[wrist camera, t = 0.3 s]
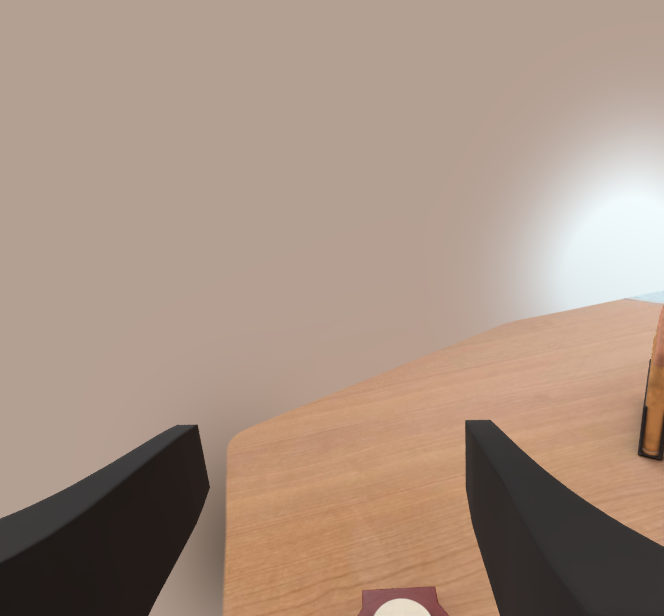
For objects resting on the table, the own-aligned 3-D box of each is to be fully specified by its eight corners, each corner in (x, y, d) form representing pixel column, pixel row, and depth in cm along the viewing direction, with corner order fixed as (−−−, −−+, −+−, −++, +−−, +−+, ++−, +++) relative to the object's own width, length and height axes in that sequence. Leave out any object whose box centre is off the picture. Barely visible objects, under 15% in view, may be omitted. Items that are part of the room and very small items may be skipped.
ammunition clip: (662, 461, 41) (679, 340, 37) (637, 455, 42) (651, 337, 38) (665, 403, 49) (680, 298, 45) (645, 399, 50) (657, 296, 46)
